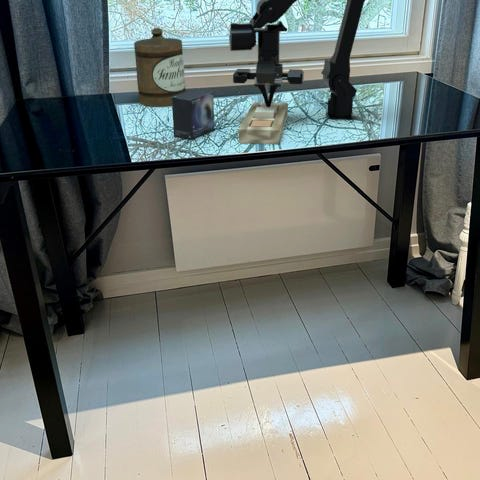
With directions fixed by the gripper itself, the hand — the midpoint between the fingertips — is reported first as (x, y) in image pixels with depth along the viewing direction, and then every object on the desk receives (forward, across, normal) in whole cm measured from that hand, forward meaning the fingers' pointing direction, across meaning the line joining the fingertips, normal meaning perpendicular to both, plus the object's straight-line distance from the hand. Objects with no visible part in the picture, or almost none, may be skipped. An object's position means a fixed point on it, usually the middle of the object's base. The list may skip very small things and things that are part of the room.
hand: (268, 107), depth 156 cm
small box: (+4, -18, -14) cm, 23 cm away
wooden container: (+4, -36, +18) cm, 41 cm away
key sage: (+3, 0, 0) cm, 3 cm away
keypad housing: (+4, 0, -8) cm, 8 cm away
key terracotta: (+2, 0, -15) cm, 15 cm away
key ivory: (+1, 0, -7) cm, 8 cm away
